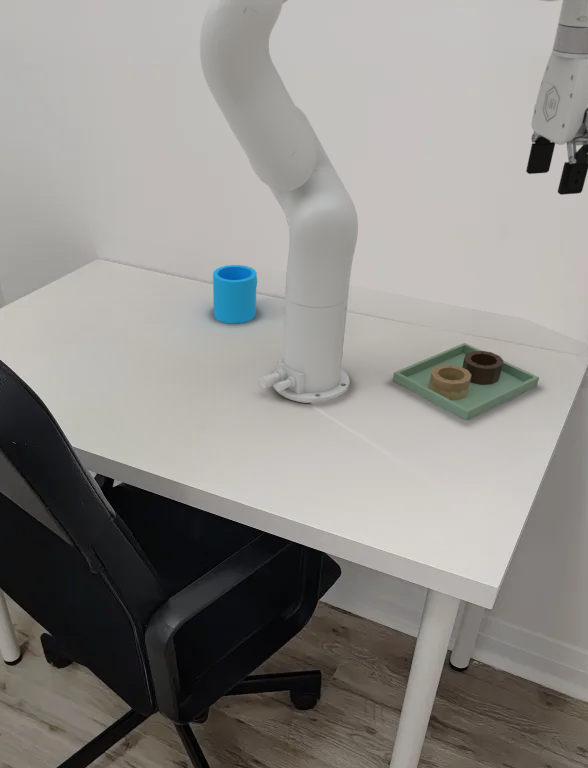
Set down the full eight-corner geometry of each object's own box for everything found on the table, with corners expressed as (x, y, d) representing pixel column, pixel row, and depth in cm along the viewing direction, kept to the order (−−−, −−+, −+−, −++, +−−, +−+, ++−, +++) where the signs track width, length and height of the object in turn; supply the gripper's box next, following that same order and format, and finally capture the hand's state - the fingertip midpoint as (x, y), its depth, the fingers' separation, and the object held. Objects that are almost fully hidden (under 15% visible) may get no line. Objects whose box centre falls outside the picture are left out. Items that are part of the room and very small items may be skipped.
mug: (242, 327, 144) (242, 285, 139) (205, 317, 148) (204, 276, 143) (273, 303, 152) (274, 263, 147) (237, 295, 156) (237, 255, 151)
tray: (465, 423, 117) (467, 411, 116) (392, 383, 127) (393, 372, 126) (536, 388, 125) (539, 377, 123) (462, 353, 134) (464, 342, 133)
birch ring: (449, 403, 120) (453, 387, 119) (421, 388, 124) (423, 372, 122) (475, 392, 123) (479, 375, 121) (446, 377, 127) (449, 361, 125)
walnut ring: (482, 388, 124) (486, 372, 122) (453, 374, 128) (457, 357, 126) (506, 377, 126) (511, 361, 125) (477, 363, 130) (481, 347, 128)
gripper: (527, 32, 103) (501, 167, 114) (591, 54, 90) (555, 204, 101) (581, 29, 104) (550, 163, 115) (653, 50, 90) (610, 200, 101)
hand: (552, 182), depth 108 cm, fingers open, 9 cm apart
